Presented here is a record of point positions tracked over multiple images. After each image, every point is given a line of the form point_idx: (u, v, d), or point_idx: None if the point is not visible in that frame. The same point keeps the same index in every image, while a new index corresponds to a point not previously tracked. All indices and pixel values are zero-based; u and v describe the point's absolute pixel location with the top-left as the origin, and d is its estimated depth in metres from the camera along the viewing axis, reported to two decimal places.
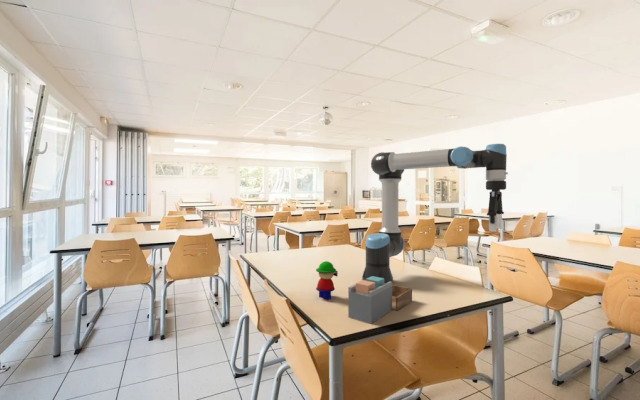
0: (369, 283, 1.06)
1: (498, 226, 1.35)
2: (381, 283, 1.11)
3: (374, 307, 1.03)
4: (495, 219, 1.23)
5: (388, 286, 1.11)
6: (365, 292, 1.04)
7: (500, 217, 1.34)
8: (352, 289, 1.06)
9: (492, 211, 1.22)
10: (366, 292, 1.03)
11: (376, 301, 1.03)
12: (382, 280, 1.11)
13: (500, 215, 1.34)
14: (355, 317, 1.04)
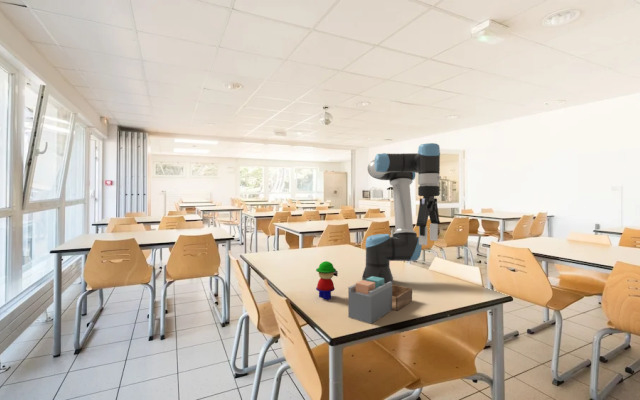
0: (369, 283, 1.06)
1: (433, 237, 1.18)
2: (381, 283, 1.11)
3: (374, 307, 1.03)
4: (425, 230, 1.06)
5: (388, 286, 1.11)
6: (365, 292, 1.04)
7: (435, 227, 1.18)
8: (352, 289, 1.06)
9: (421, 221, 1.05)
10: (366, 292, 1.03)
11: (376, 301, 1.03)
12: (382, 280, 1.11)
13: (435, 225, 1.18)
14: (355, 317, 1.04)
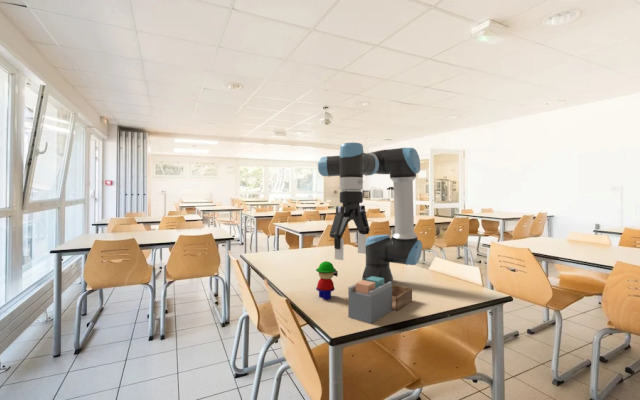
0: (369, 283, 1.06)
1: (361, 250, 1.04)
2: (381, 283, 1.11)
3: (374, 307, 1.03)
4: (341, 243, 0.92)
5: (388, 286, 1.11)
6: (365, 292, 1.04)
7: (363, 238, 1.03)
8: (352, 289, 1.06)
9: (334, 233, 0.91)
10: (366, 292, 1.03)
11: (376, 301, 1.03)
12: (382, 280, 1.11)
13: (363, 236, 1.03)
14: (355, 317, 1.04)
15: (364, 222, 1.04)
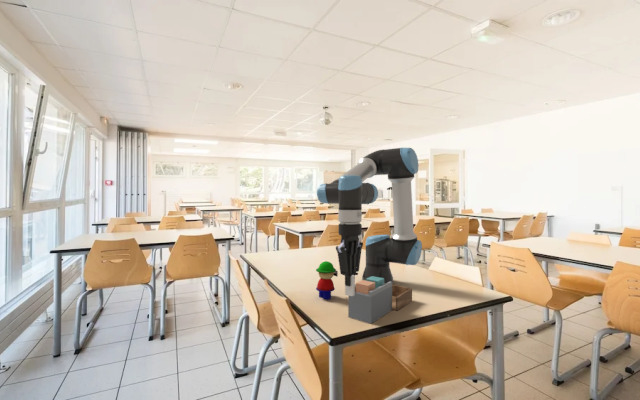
0: (369, 283, 1.06)
1: None
2: (381, 283, 1.11)
3: (374, 307, 1.03)
4: (351, 280, 0.97)
5: (388, 286, 1.11)
6: (365, 292, 1.04)
7: None
8: None
9: (344, 273, 0.95)
10: (366, 292, 1.03)
11: (376, 301, 1.03)
12: (382, 280, 1.11)
13: None
14: (355, 317, 1.04)
15: (356, 259, 1.01)
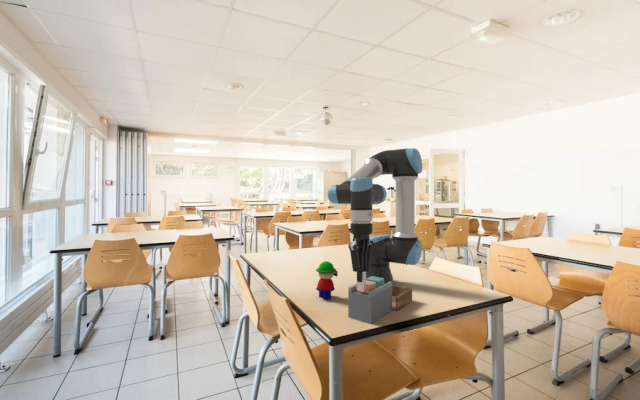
0: (370, 283, 1.06)
1: None
2: (381, 283, 1.11)
3: (374, 307, 1.03)
4: (362, 277, 1.03)
5: (388, 286, 1.11)
6: (366, 292, 1.04)
7: None
8: (352, 289, 1.06)
9: (356, 269, 1.01)
10: (367, 292, 1.04)
11: (376, 301, 1.03)
12: (382, 280, 1.11)
13: None
14: (355, 317, 1.04)
15: (367, 256, 1.06)
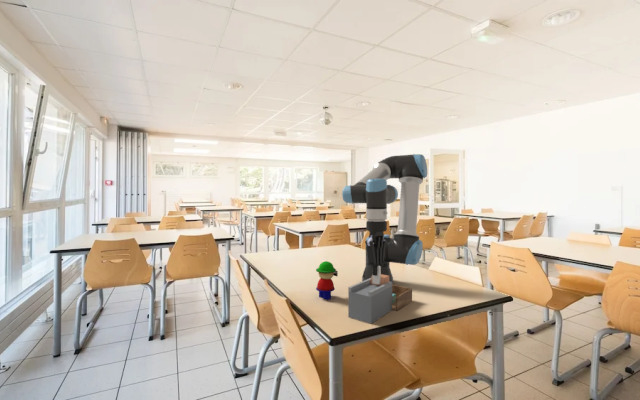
0: (384, 276, 1.15)
1: None
2: (392, 299, 1.18)
3: (374, 307, 1.03)
4: (377, 270, 1.12)
5: (388, 286, 1.11)
6: (380, 284, 1.13)
7: None
8: (352, 289, 1.06)
9: (372, 263, 1.10)
10: (381, 284, 1.12)
11: (376, 301, 1.03)
12: (392, 302, 1.18)
13: None
14: (355, 317, 1.04)
15: (382, 252, 1.15)
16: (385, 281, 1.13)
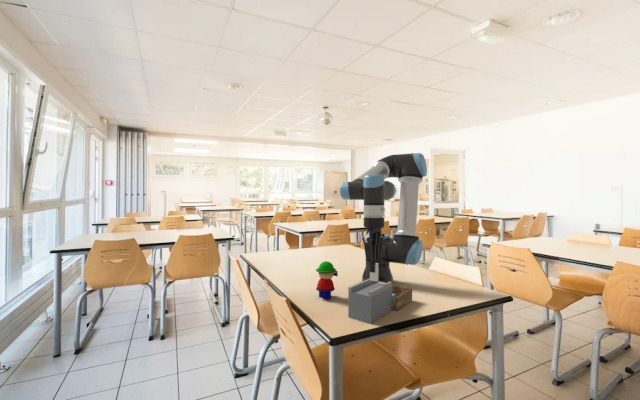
0: None
1: None
2: (392, 299, 1.18)
3: (374, 307, 1.03)
4: (375, 267, 1.10)
5: (388, 286, 1.11)
6: None
7: None
8: (352, 289, 1.06)
9: (369, 260, 1.08)
10: None
11: (376, 301, 1.03)
12: (392, 302, 1.18)
13: None
14: (355, 317, 1.04)
15: (379, 249, 1.13)
16: None
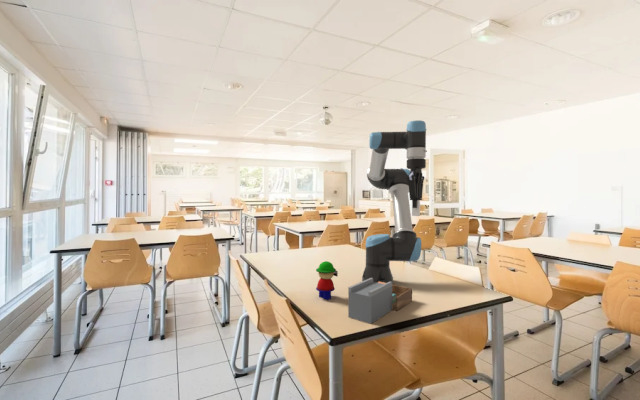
0: None
1: None
2: (392, 299, 1.18)
3: (374, 307, 1.03)
4: (417, 203, 1.24)
5: (388, 286, 1.11)
6: None
7: None
8: (352, 289, 1.06)
9: (413, 196, 1.22)
10: None
11: (376, 301, 1.03)
12: (392, 302, 1.18)
13: None
14: (355, 317, 1.04)
15: None
16: None
